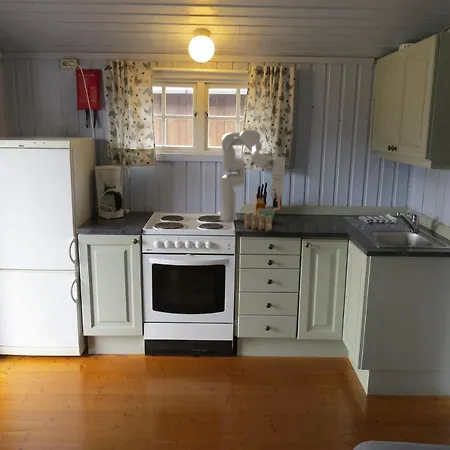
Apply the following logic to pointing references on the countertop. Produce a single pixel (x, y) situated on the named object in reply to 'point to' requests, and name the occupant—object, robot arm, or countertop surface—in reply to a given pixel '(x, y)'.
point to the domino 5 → (278, 203)
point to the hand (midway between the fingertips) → (277, 206)
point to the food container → (267, 212)
